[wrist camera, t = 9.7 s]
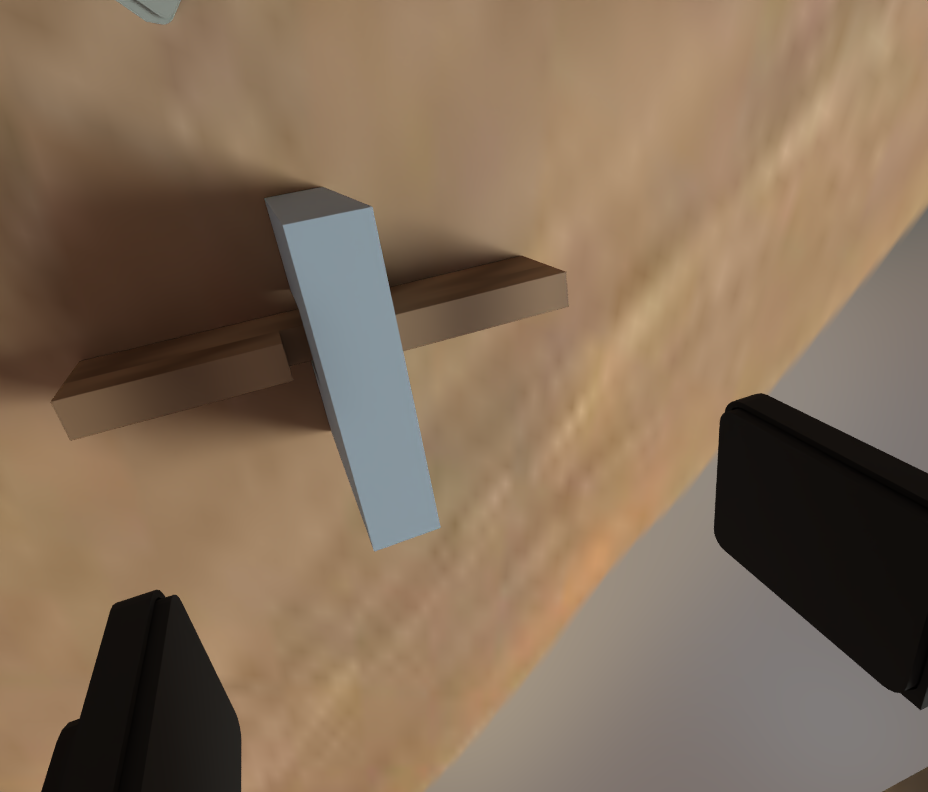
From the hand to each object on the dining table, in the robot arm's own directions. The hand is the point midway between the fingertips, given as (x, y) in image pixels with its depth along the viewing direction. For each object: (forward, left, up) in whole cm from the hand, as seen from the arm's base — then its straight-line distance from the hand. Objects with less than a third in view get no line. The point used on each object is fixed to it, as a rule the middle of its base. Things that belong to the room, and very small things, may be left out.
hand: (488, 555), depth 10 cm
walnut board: (0, 0, -17) cm, 17 cm away
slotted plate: (0, 0, -17) cm, 17 cm away
